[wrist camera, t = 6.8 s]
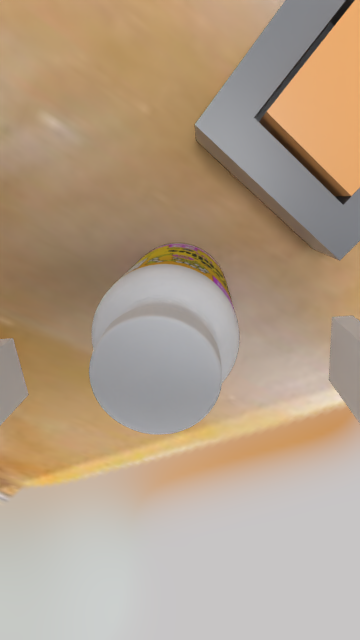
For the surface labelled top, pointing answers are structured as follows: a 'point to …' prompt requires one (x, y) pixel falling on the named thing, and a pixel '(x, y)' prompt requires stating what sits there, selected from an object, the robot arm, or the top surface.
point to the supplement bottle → (164, 341)
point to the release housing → (261, 147)
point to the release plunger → (325, 109)
